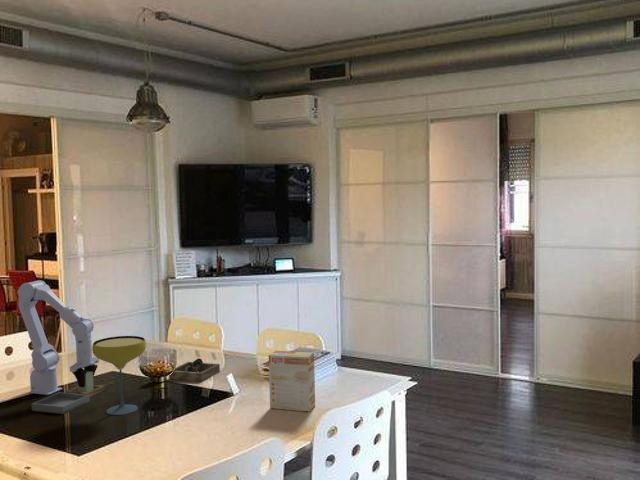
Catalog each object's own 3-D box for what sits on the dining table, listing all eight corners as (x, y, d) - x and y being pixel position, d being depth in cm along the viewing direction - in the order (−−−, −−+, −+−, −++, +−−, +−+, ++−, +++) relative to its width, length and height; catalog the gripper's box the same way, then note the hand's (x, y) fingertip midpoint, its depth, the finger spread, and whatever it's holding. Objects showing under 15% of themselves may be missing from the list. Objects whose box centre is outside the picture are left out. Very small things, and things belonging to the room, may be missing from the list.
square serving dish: (169, 379, 264) (169, 371, 263) (188, 369, 278) (188, 361, 278) (202, 382, 259) (201, 373, 258) (219, 371, 273) (219, 364, 273)
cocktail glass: (99, 422, 214) (96, 349, 212) (92, 407, 230) (88, 339, 228) (153, 413, 222) (150, 342, 220) (142, 399, 238) (139, 333, 236)
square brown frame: (65, 395, 245) (65, 391, 245) (83, 387, 254) (83, 383, 254) (88, 397, 241) (87, 393, 241) (105, 389, 251) (105, 385, 251)
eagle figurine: (205, 374, 266) (207, 364, 275) (195, 361, 264) (197, 352, 273) (191, 384, 267) (192, 374, 275) (180, 371, 265) (182, 362, 273)
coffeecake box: (315, 406, 226) (314, 352, 225) (309, 412, 219) (307, 357, 218) (277, 402, 231) (275, 349, 230) (269, 408, 224) (268, 354, 223)
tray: (31, 410, 228) (31, 403, 228) (59, 398, 241) (59, 392, 241) (63, 413, 223) (63, 407, 223) (89, 401, 236) (89, 395, 236)
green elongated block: (78, 393, 247) (77, 373, 246) (85, 390, 250) (84, 370, 250) (86, 394, 245) (85, 374, 245) (93, 391, 249) (92, 371, 249)
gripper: (79, 356, 239) (81, 391, 240) (104, 347, 252) (106, 380, 253) (64, 355, 241) (66, 390, 242) (89, 346, 255) (91, 379, 256)
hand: (85, 385), depth 248 cm, fingers closed on green elongated block, 4 cm apart
